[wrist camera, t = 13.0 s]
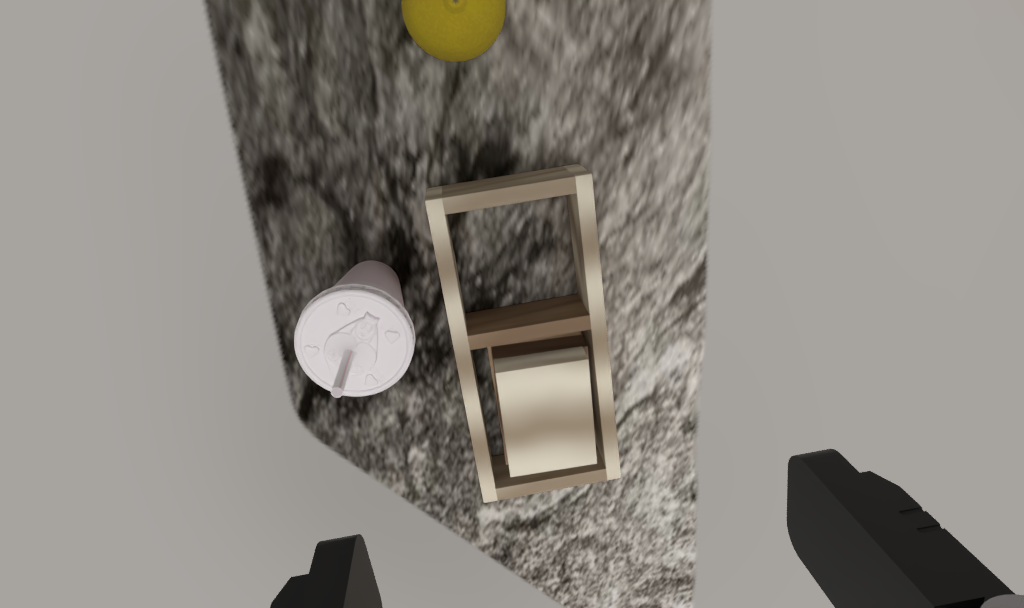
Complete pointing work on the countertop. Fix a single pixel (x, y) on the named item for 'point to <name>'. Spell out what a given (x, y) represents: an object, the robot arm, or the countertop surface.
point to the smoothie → (356, 333)
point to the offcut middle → (532, 348)
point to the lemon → (454, 26)
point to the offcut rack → (529, 319)
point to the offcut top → (546, 410)
